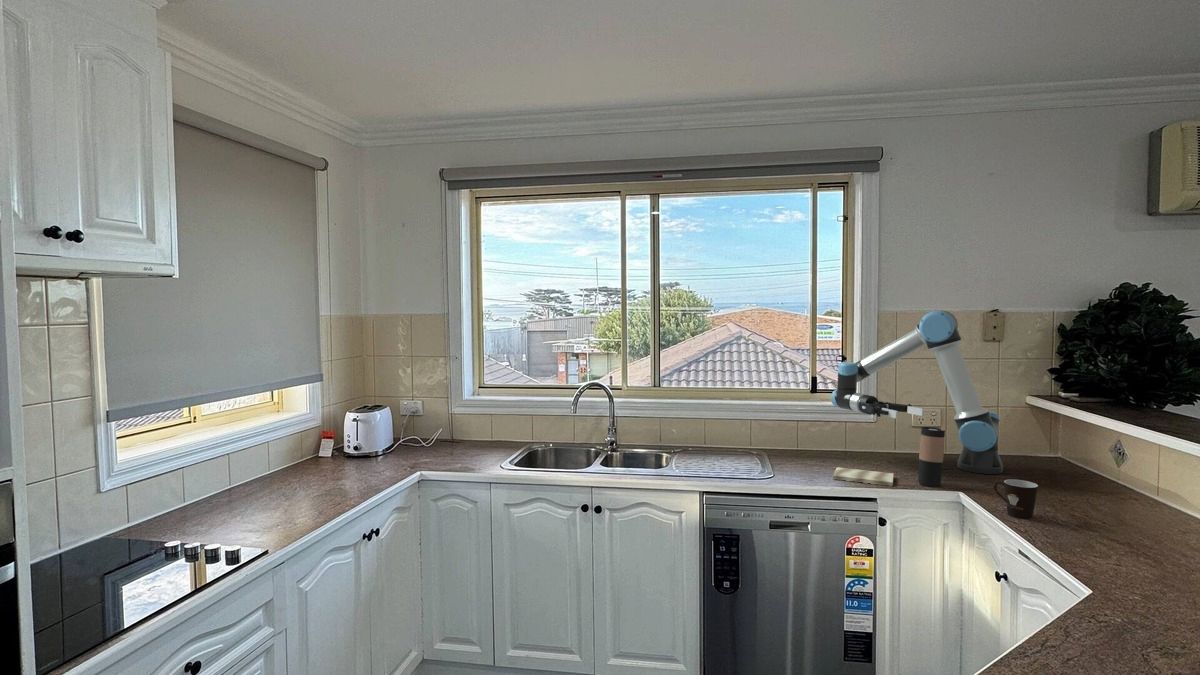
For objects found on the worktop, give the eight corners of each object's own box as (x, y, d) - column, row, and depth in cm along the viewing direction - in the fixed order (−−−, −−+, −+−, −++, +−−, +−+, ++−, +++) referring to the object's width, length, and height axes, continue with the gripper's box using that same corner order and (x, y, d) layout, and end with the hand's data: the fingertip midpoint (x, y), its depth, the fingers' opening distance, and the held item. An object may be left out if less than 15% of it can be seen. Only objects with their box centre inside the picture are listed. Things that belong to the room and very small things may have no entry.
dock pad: (893, 477, 230) (893, 473, 230) (892, 486, 219) (892, 482, 219) (836, 471, 239) (836, 467, 239) (832, 479, 228) (833, 475, 228)
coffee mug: (1043, 520, 184) (1045, 487, 183) (1014, 520, 184) (1015, 487, 183) (1018, 507, 195) (1019, 476, 195) (990, 507, 195) (991, 476, 195)
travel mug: (914, 483, 221) (918, 427, 220) (921, 479, 226) (924, 426, 226) (937, 487, 216) (941, 431, 215) (944, 484, 221) (947, 429, 221)
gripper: (886, 411, 252) (932, 421, 233) (840, 414, 242) (884, 425, 223) (887, 393, 252) (934, 401, 233) (841, 396, 242) (886, 405, 223)
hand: (910, 413), depth 228 cm, fingers open, 13 cm apart
